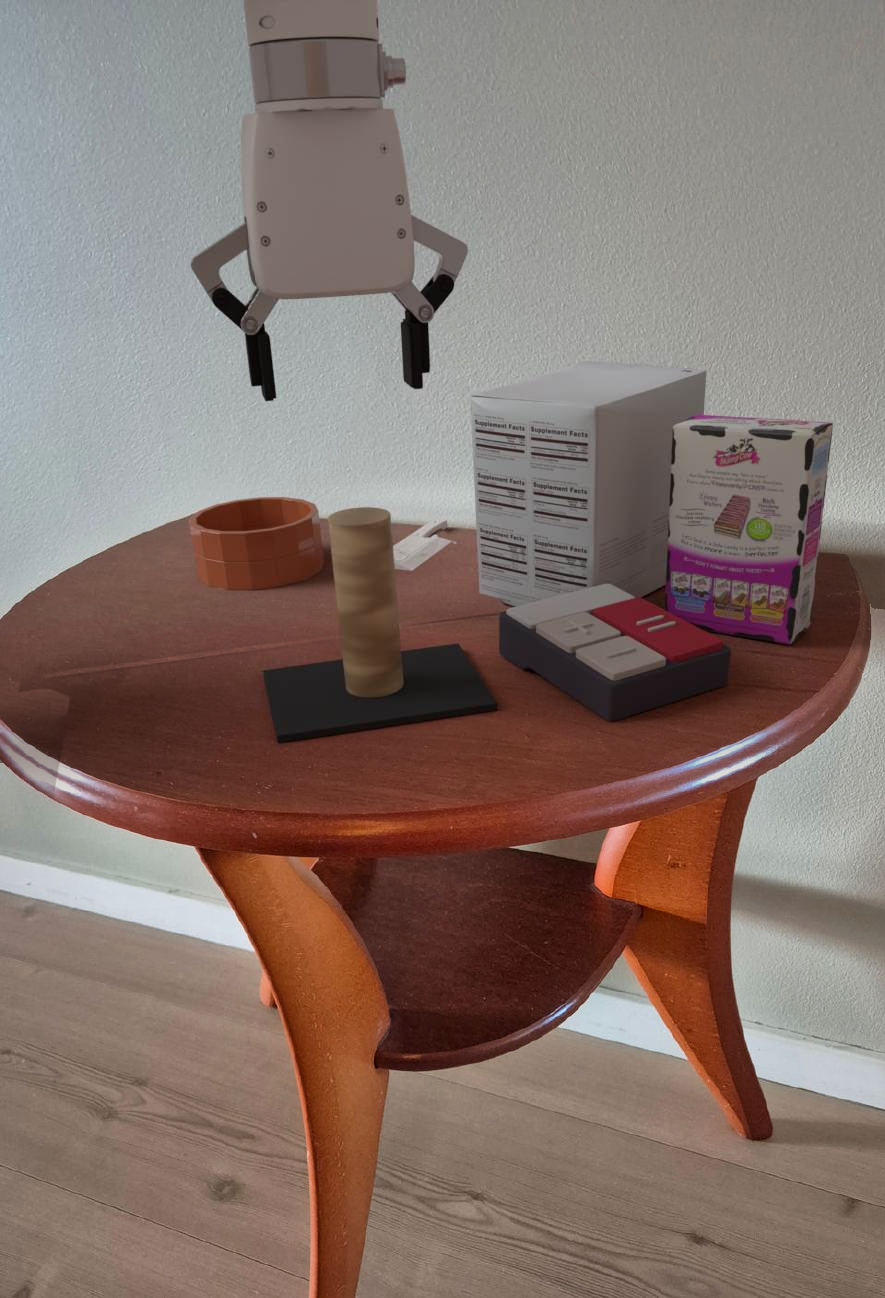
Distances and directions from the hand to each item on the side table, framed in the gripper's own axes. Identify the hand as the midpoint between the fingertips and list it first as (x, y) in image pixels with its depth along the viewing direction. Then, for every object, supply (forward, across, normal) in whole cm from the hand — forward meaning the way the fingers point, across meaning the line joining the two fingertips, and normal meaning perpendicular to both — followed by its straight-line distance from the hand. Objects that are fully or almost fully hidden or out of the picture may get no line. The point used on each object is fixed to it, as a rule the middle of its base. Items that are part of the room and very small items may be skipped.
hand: (342, 391), depth 72 cm
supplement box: (+22, -24, -17) cm, 36 cm away
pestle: (+21, -1, 0) cm, 21 cm away
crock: (+22, +5, -32) cm, 39 cm away
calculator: (+22, -19, +2) cm, 29 cm away
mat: (+22, -1, 0) cm, 22 cm away
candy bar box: (+22, -32, -3) cm, 39 cm away
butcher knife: (+22, -12, -33) cm, 41 cm away
